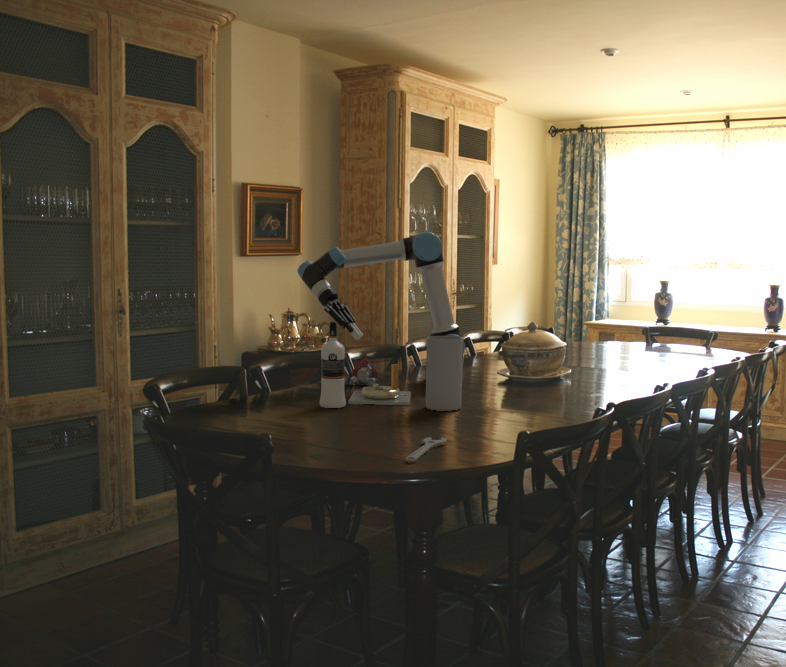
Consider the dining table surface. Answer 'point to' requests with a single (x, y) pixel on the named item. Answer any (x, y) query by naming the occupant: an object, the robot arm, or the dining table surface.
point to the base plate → (359, 399)
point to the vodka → (332, 371)
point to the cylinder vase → (444, 373)
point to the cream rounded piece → (384, 387)
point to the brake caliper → (364, 374)
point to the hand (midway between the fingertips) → (359, 337)
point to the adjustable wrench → (425, 448)
